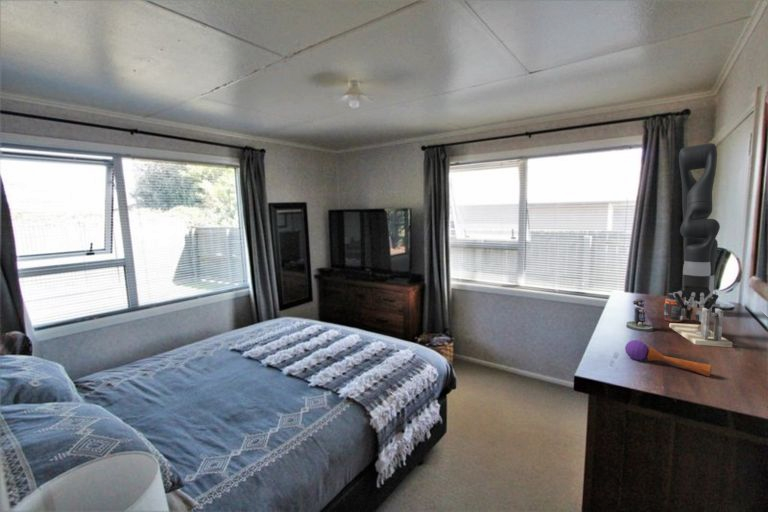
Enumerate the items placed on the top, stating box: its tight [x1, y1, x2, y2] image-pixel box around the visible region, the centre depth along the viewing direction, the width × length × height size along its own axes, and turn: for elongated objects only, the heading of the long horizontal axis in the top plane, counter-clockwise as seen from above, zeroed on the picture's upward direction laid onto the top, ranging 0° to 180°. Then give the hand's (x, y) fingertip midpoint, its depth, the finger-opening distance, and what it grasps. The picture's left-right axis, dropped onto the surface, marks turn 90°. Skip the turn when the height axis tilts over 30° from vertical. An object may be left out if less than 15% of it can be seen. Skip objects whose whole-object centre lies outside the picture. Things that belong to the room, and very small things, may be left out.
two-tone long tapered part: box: [624, 339, 712, 377], centre depth 105 cm, size 6×6×20 cm
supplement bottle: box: [663, 292, 684, 323], centre depth 146 cm, size 6×6×11 cm
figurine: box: [625, 297, 654, 333], centre depth 138 cm, size 8×8×12 cm
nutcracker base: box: [668, 308, 733, 348], centre depth 128 cm, size 20×10×12 cm, turn 161°
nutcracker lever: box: [691, 306, 718, 323], centre depth 127 cm, size 17×3×4 cm, turn 162°
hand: (693, 319), depth 132 cm, fingers closed on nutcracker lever, 2 cm apart
